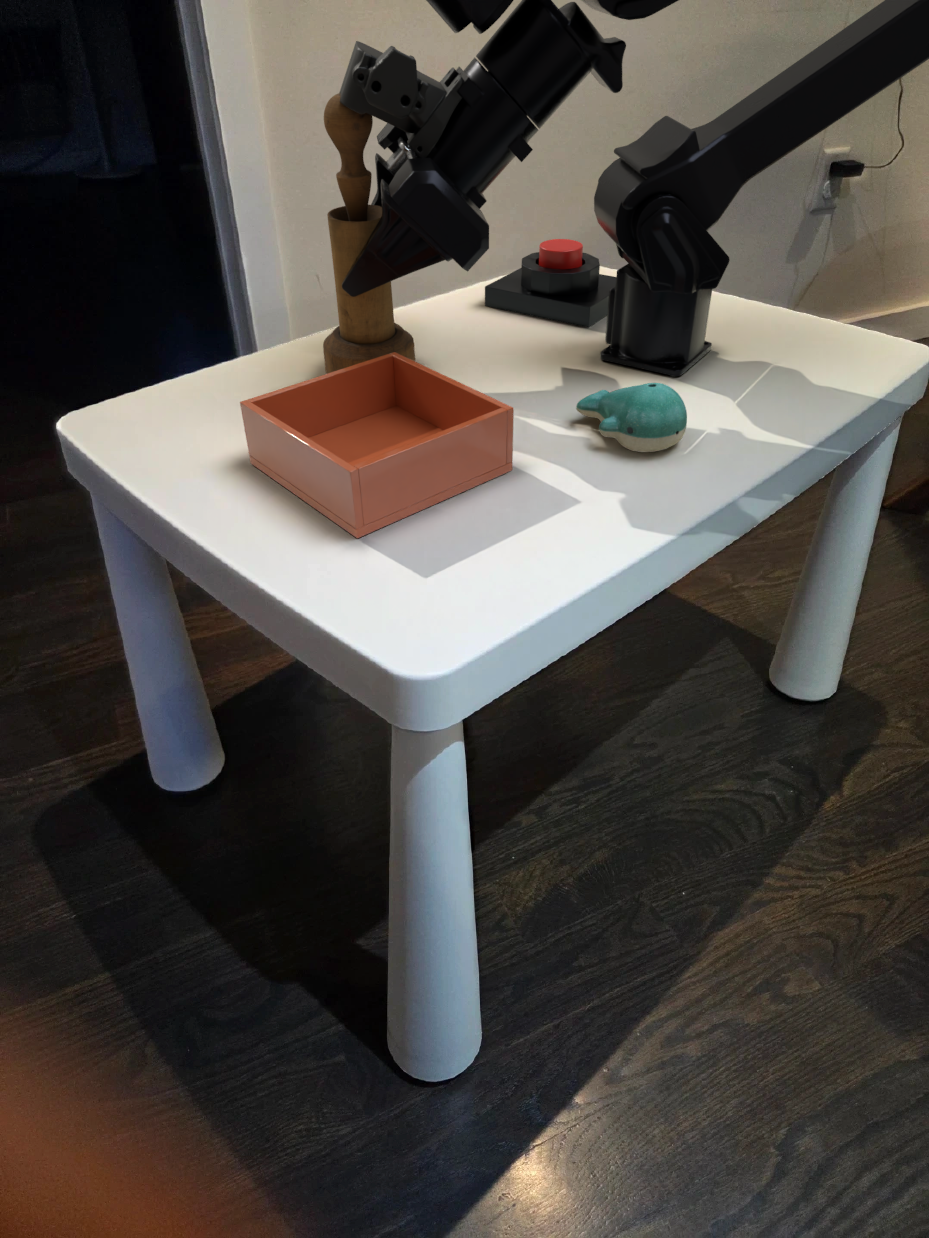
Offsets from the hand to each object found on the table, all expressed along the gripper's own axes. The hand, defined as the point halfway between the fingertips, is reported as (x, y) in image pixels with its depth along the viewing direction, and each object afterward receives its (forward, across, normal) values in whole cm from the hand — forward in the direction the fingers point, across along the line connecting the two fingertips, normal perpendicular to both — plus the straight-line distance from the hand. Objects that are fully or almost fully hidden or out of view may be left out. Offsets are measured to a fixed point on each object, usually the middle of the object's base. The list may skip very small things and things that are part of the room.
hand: (346, 281), depth 63 cm
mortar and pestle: (+4, 0, +6) cm, 7 cm away
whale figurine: (-7, +12, +17) cm, 22 cm away
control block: (-8, -13, +17) cm, 23 cm away
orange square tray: (+4, +14, +6) cm, 16 cm away
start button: (-10, -13, +15) cm, 22 cm away
